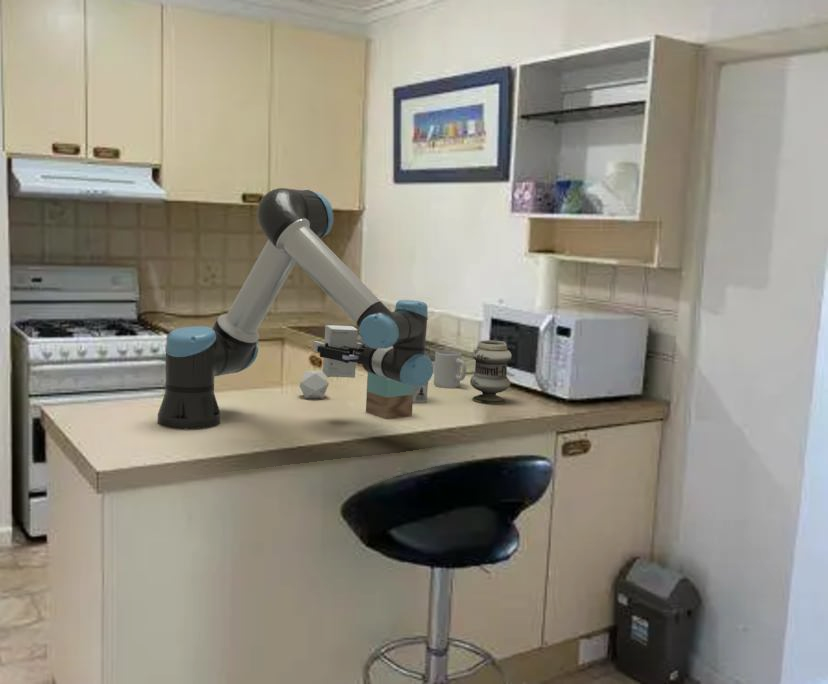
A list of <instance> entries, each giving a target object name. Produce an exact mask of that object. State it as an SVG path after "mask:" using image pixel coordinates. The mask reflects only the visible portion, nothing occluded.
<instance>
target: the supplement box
mask: <svg viewBox="0 0 828 684" xmlns="http://www.w3.org/2000/svg"><path fill="white" fill-rule="evenodd" d="M358 333H359V330H358V329H357V328H356V327H354V326H352V325H336V324H335V325H332V324H331V325H329V324H325V327H324V340H323V341H324V342H323V343H329V345H330V346H331V347H339V348H346V349H349V348H352V347H353V348H357V342H358V337H359V336H358V335H359V334H358ZM353 355H354V350H353ZM322 359H323V361H322V371H323V373H324V374H325V376H326V378H351V379H353V378H355V377H356V366H357V365H356V364H357V363H356V362H349V363H345V362H342V361H338V360H333V359H329V358H324V357H322Z"/></svg>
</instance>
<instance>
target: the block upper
mask: <svg viewBox="0 0 828 684" xmlns="http://www.w3.org/2000/svg"><path fill="white" fill-rule="evenodd" d="M366 378H367V380H366V381H367V382H366V392H367V391H368V392H371V393H374V394H377V395H380V396H384V397H396V396H405V395H413V386H412V385H408V384H407V385H406V384H403V383H401V382H398V381H395V380H393V379H391V380H387V378H386V377H383V376H380V375H376V374H372V373H369V372H367V377H366Z"/></svg>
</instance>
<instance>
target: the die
mask: <svg viewBox="0 0 828 684" xmlns="http://www.w3.org/2000/svg"><path fill="white" fill-rule="evenodd" d="M299 383H300V384H299V386H298V387H299V388H300V390H301V392H302V395H303V397H304V399H316V398H323V399H324V396H325V394H326V392H327V389H328V387H329V385H330V382H329V380H328V377H327V376H326V375H325V374H324V373H323V370H305V371H304V373H303V376H302V378H301V381H300V382H299Z"/></svg>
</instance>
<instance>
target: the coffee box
mask: <svg viewBox="0 0 828 684" xmlns="http://www.w3.org/2000/svg"><path fill="white" fill-rule="evenodd" d="M425 355H426V356H427V357H429V358H430V357H431V356H430V355H431V349H430V348H428V347H426V346H425ZM430 359H431V358H430ZM428 384H429V381H428V382H427V383H426V384H425V385H423V386H413V404H420V403H423V404H424V403H425V404H426V403H428V388H429V385H428Z"/></svg>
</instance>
